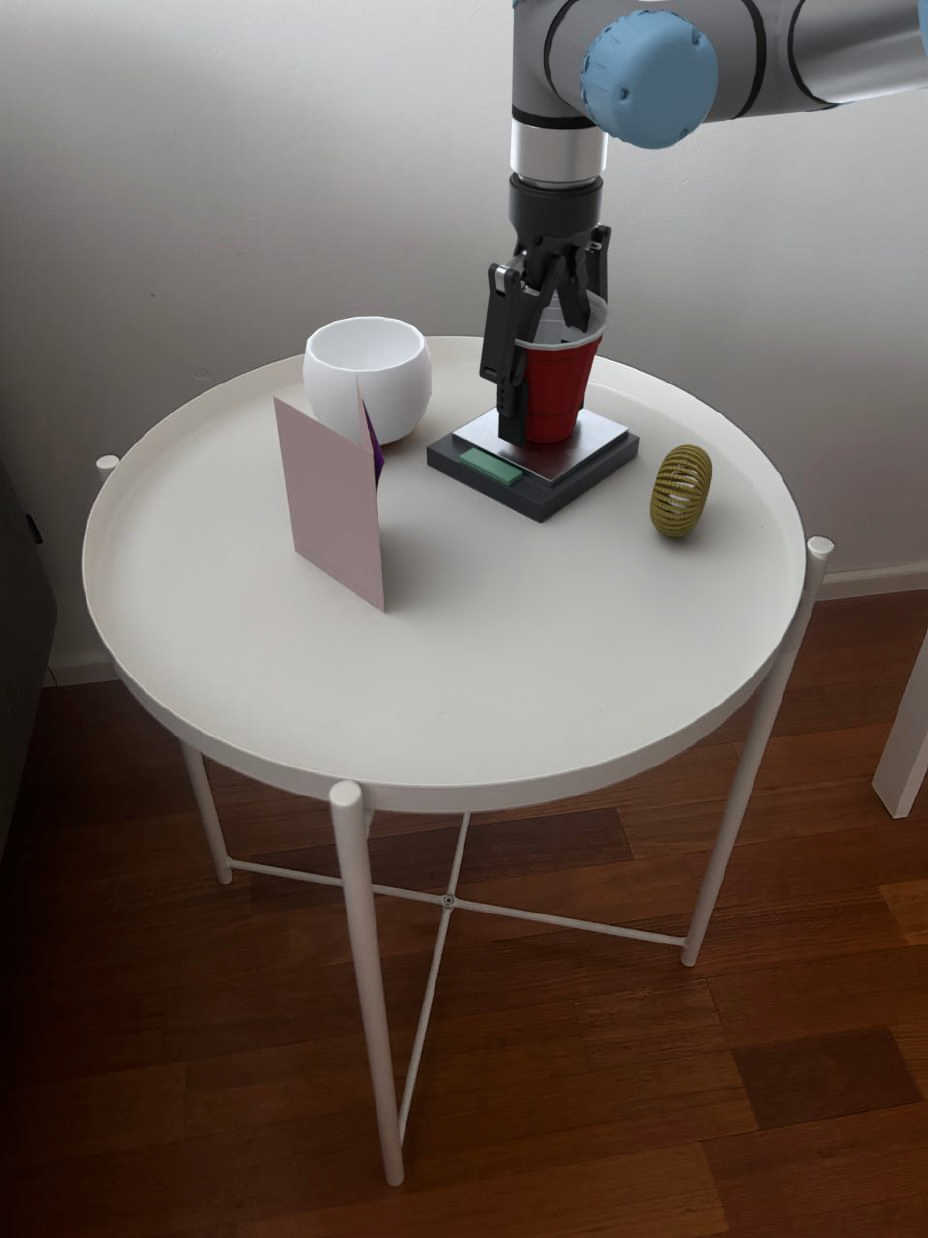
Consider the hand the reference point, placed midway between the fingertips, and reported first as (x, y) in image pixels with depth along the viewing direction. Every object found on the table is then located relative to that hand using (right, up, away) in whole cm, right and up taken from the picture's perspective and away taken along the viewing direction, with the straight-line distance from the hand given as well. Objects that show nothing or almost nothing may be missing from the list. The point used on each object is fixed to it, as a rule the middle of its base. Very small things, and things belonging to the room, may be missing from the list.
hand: (541, 422), depth 95 cm
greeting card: (-17, -15, -11) cm, 25 cm away
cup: (-16, 0, +6) cm, 17 cm away
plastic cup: (0, -1, +1) cm, 1 cm away
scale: (-1, -3, +2) cm, 4 cm away
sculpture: (+11, -11, -6) cm, 17 cm away
